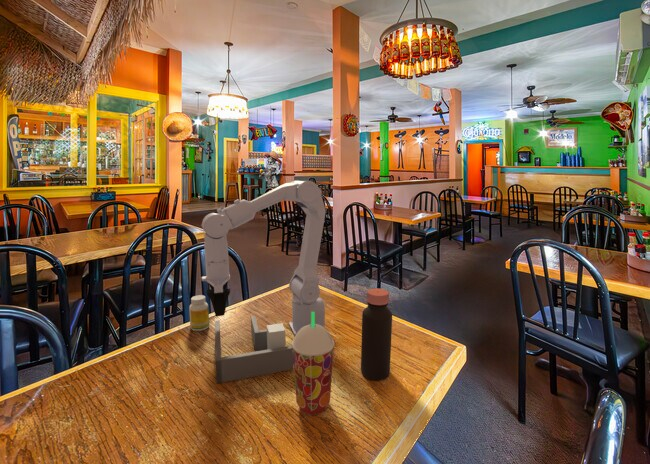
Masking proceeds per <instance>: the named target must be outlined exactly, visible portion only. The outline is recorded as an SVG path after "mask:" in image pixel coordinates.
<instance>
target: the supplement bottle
mask: <svg viewBox="0 0 650 464" xmlns="http://www.w3.org/2000/svg"><path fill="white" fill-rule="evenodd" d="M188 310H189V311H188V312H189V325H190V329H191V330H192V331H194V332H201V331H204V330H207V329H208V328H209V327H210V316H209V315H210V312H209V304H208V303H207V301H206V296H205V295H203V294H199V295H194V296H192V297H191V298H190V305H189V307H188Z"/></svg>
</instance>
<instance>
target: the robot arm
mask: <svg viewBox="0 0 650 464" xmlns="http://www.w3.org/2000/svg"><path fill="white" fill-rule="evenodd" d="M322 193H323V192H322V190H321V188H320V187H319V186H318V185H317V184H316V183H315V182H313V181H312V180H298V179H295V180H292V181H290V182H286V183H283V184H281V185H279V186H277V187H275V188H273V189H271V190H269V191H267V192H266V193H264V194H262V195H260V196H258V197H256V198H254V199H252V200H250V201H249V200H246V199H241V200H240V199H238V198H237V199H236V200H234V201H233V204H230V205H228V206H227V207H224V208H221V207H219V208H217V209H216V211H217V213H215V212H211V213H208V214H207V215H205V216H204V217H203V218H202V222H201V225H200V226H201V228H202V230H203V232H204V236H203V240H204V242H203V243H204V246H203V247H204V259H205V262H204V263H205V275H206V276H204V275H203V276H201V282H207V283H208V285H209V287H210V289H206V295H207V296H208V298H209V300H210V303H211V304H212V309H213V312H214V315H215V317H222V316H223V317H224V316H225V313H226V308H227V301H228V298H229V297H230V295H231V288H227V286H228V283H229V280H230V279H231V275H230V261H229V260H230V259H229V244H228V240H227V238H228V237H227V235H228V234H229V233H228V232H229V231H230V230H233V229H236V228H237V227H240V226H242V225H244V224H246V223H248V222H249V221H252V220H254V218H255V216H256V214H257V212H260V211H262V210H265V209H266V208H269V207H271V206H273V205H276V204H277V203H280V202H281V203H282V202H284V201H285V202H293V203H295V204H297V205H298V206H299V207H300V208H301V209H302V210H303V212H304V213H305V214H306V215H305V221H304V223H305V224H304V229H303V234H302V242H301V247H300V253H299V254H300V255H299V260H298V266H297V267H296V268H295V270H294V272H293V275H292V277H291V279H290V280H289V284H288V287H289V290H290V292H292V299H291V304H292V305H291V306H292V307H291V310H292V311H291V313H292V314H291V315H292V318H291V319H292V321H289V322H288V325H289V327H290V329H291V330H292V331H291V332H292V333H293V335H294V336H296V334H297V332H298V331H299V330H300V329H301V328H302V327H304V326H305V325H308V324H311V312H315V324H318V325H321V326H323V327H324V328H326V325H325V324H326V321H325V318H326V316H325V314H326V311H325V310H326V308H325V302H324V299H323V298H322V297H319V296H320V295H321V294H320V293H321V290H320V286H319V285H320V284H319V282H320V278H319V276H318V273H317V266H318V261H319V253H320V250H321V249H320V247H321V242H322V236H323V231H324V223H325V218H326V212H327V211H326V210H327V209H326V207H325V203H324V200H323V197H322Z"/></svg>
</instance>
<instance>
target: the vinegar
mask: <svg viewBox="0 0 650 464" xmlns="http://www.w3.org/2000/svg"><path fill="white" fill-rule="evenodd" d="M389 300H390V292H389V291H388V290H386V289H385V288H380V287H379V288H377V287H376V288H370V289H367V291H366V303H367V306H366V307H365V308H364V309H363V310H362V312H361V313H362V315H361V345H360V347H361V349H360V350H361V351H360V353H361V354H360V372H361V374H362V376H363V377H364V378H366V379H368V380H370V381H375V382H376V381H384V380H386V379H387V378H389V376H390V374H391V372H390V371H391V357H392V356H391V353H392V352H391V351H392V332H393V330H392V329H393V312H392V311H391V309H389V308H388V305H389V303H390V301H389Z"/></svg>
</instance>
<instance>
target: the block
mask: <svg viewBox="0 0 650 464" xmlns="http://www.w3.org/2000/svg"><path fill="white" fill-rule="evenodd" d="M266 329H267V350H268V349H274V348H280V347H286V345H287V344H286V327H284V324H283V322H281V323H274V324H273V323H272V324H266Z"/></svg>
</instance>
